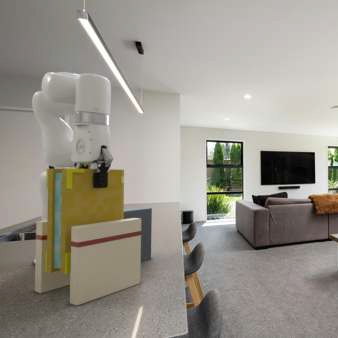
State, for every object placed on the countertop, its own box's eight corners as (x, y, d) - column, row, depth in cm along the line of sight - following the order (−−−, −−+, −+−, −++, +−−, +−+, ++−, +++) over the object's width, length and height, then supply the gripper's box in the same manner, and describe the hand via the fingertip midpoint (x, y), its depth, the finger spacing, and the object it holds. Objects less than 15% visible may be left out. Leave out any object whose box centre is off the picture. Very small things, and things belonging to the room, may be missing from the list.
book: (66, 274, 68) (67, 168, 69) (45, 272, 69) (46, 168, 70) (129, 254, 84) (130, 169, 85) (111, 253, 86) (111, 170, 87)
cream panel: (69, 303, 68) (70, 226, 68) (133, 281, 81) (134, 217, 82) (76, 305, 66) (78, 227, 67) (140, 283, 80) (141, 218, 80)
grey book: (103, 269, 91) (104, 212, 91) (145, 257, 104) (146, 207, 104) (108, 270, 90) (110, 213, 90) (151, 258, 103) (151, 208, 103)
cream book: (34, 291, 74) (35, 221, 74) (99, 272, 88) (100, 213, 88) (40, 293, 73) (42, 222, 73) (105, 274, 87) (106, 214, 87)
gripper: (58, 121, 78) (56, 187, 77) (97, 116, 71) (95, 189, 70) (89, 125, 85) (88, 186, 84) (127, 122, 78) (126, 187, 77)
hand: (91, 186), depth 77 cm, fingers closed on book, 7 cm apart
